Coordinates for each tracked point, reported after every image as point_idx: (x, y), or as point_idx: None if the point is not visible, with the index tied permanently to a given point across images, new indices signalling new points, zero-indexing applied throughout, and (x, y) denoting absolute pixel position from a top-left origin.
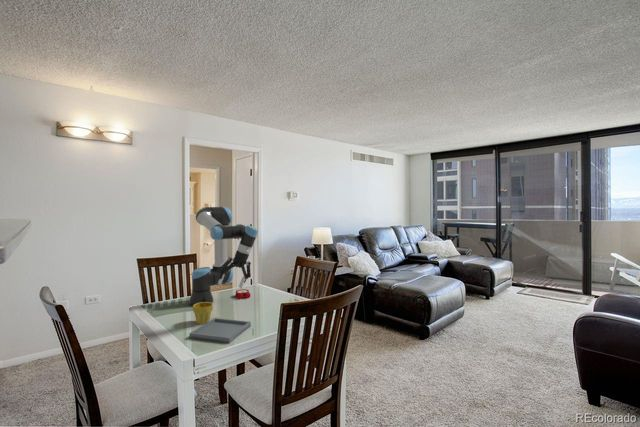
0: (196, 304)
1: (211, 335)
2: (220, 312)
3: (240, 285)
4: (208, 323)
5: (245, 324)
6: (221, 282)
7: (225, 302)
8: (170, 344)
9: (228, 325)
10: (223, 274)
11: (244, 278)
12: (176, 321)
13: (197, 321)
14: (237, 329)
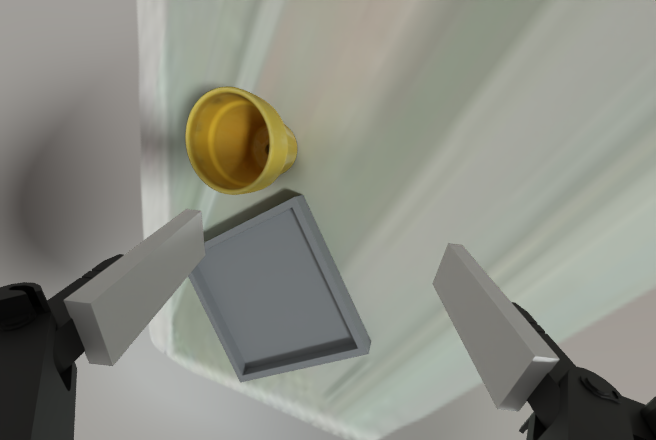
0: (212, 96)
1: (214, 325)
2: (394, 86)
3: (449, 281)
4: (253, 226)
5: (335, 355)
6: (185, 274)
7: None
8: None
9: (307, 283)
10: (90, 357)
11: (495, 402)
12: (208, 60)
13: (247, 152)
14: (307, 337)
